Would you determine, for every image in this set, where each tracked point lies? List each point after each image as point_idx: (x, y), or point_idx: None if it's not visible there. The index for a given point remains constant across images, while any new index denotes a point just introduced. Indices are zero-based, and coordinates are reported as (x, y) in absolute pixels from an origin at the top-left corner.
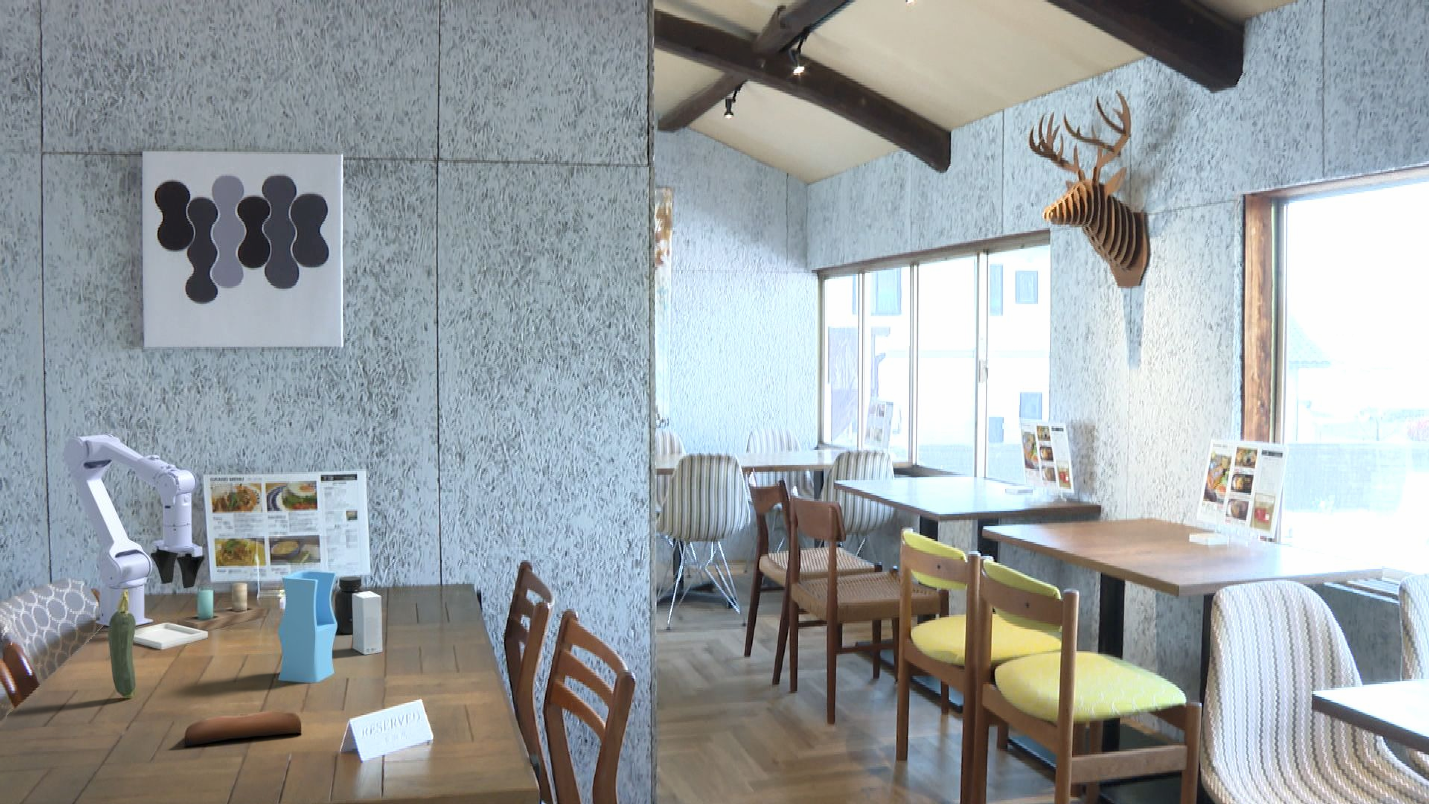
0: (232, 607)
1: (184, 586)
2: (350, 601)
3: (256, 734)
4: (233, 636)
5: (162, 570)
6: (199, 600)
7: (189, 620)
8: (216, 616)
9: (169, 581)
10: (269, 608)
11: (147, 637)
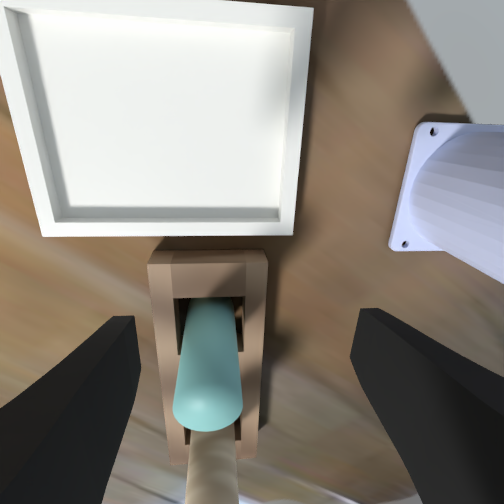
0: None
1: (115, 321)
2: None
3: None
4: (17, 289)
5: (431, 377)
6: (205, 353)
7: (217, 276)
8: None
9: (358, 348)
10: (238, 474)
11: (207, 79)
